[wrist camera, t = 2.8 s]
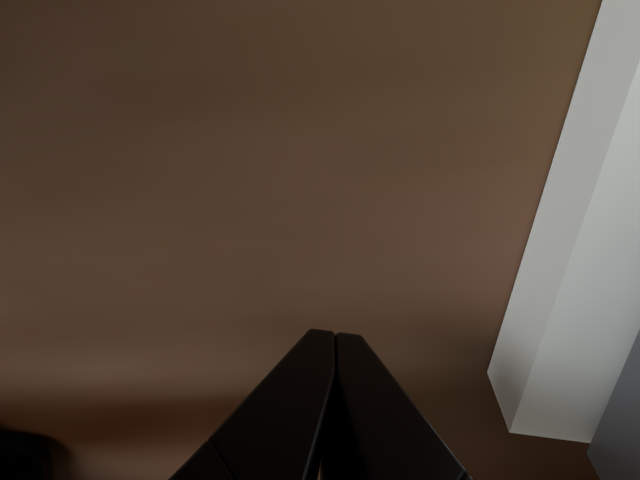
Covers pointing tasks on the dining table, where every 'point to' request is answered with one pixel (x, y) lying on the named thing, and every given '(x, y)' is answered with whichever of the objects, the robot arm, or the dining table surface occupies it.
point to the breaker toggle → (620, 426)
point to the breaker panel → (580, 252)
